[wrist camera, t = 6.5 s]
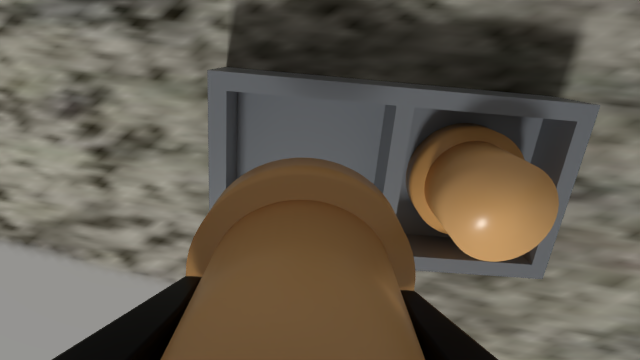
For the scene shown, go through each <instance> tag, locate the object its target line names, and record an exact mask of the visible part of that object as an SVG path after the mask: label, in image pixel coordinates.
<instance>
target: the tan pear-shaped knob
mask: <svg viewBox="0 0 640 360" xmlns="http://www.w3.org/2000/svg"><path fill="white" fill-rule="evenodd" d="M186 276H198V277H202V278H201V280H200V282H199V284H198V286H197V288H196V290H195V292H194V294H193V296H192V298H191V300H190V302H189V304H188V306H187V308H186V310H185V312H184V314H183V316H182V318H181V320H180V322H179V324H178V326H177V328H176V330H175V332H174V334H173V336H172V338H171V340H170V342H169V344H168V346H167V348H166V350H165V352H164V354H163V356H162V358H161V360H425V358H424V355H423V352H422V349H421V347H420V344H419V341H418V338H417V335H416V333H415V330H414V327H413V324H412V321H411V319H410V316H409V313H408V310H407V308H406V305H405V302H404V299H403V296H402V294H401V291H400V290H411V291H414V286H415V262H414V257H413V252H412V249H411V246H410V243H409V240H408V238H407V236H406V234H405V232H404V230H403V228H402V226H401V224H400V222H399V220H398V218H397V216H396V214H395V212H394V210H393V208H392V206H391V205H390V203H389V202H388V200H387V199H386V197H385V196H384V195H383V193H382V192H381V191H380V190H379V189H378V188H377V187H376V186H375V185H374V184H373V183H372V182H370V181H369V180H368V179H367V178H365V177H364V176H363V175H361V174H359V173H357V172H356V171H354V170H352V169H350V168H348V167H346V166H343V165H341V164H338V163H335V162H331V161H328V160H323V159H316V158H288V159H281V160H277V161H272V162H269V163H266V164H263V165H261V166H258V167H256V168H254V169H252V170H250V171H248V172H246V173H245V174H243V175H242V176H240V177H239V178H238V179H236V180H235V181H234V182H233V183H232V184H230V185H229V186H228V187H227V188H226V189H225V190H224V192H223V193H222V194H221V195H220V197H219V198H218V199H217V201H216V202H215V204H214V205H213V207H212V208H211V210H210V211H209V213H208V214H207V216H206V217H205V219H204V220H203V222H202V223H201V225H200V227H199V229H198V230H197V232H196V234H195V236H194V238H193V241H192V243H191V246H190V249H189V253H188V258H187V264H186Z"/></svg>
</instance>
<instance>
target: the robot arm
mask: <svg viewBox="0 0 640 360" xmlns="http://www.w3.org/2000/svg"><path fill="white" fill-rule="evenodd" d="M201 278H202V277H198V276H185V277H183V278H182V279H180V280H179V281H177V282H175V283H174V284H172V285H171V286H169V287H167V288H166V289H164V290H163V291H161V292H159V293H158V294H156V295H155V296H153V297H151V298H150V299H148V300H147V301H145V302H143V303H142V304H140V305H139V306H137V307H135V308H134V309H132V310H131V311H129V312H128V313H126V314H124V315H123V316H121V317H119V318H118V319H116V320H115V321H113V322H111V323H110V324H108V325H107V326H105V327H103V328H102V329H100V330H99V331H97V332H96V333H94V334H92V335H91V336H89V337H87V338H86V339H84V340H83V341H81V342H79V343H78V344H76V345H74V346H73V347H71V348H70V349H68V350H66V351H65V352H63V353H62V354H60V355H58V356H57V357H55V358H54V359H52V360H161V358H162V356H163V354H164V352H165V350H166V348H167V346H168V344H169V342H170V340H171V338H172V336H173V334H174V332H175V330H176V328H177V326H178V324H179V322H180V320H181V318H182V316H183V314H184V312H185V310H186V308H187V306H188V304H189V302H190V300H191V298H192V296H193V294H194V292H195V290H196V288H197V286H198V284H199V282H200V280H201ZM400 291H401V294H402V296H403V299H404V302H405V305H406V308H407V310H408V313H409V316H410V319H411V321H412V324H413V327H414V330H415V333H416V335H417V338H418V341H419V344H420V347H421V349H422V352H423V355H424V358H425V360H498V359H497V358H495V357H494V356H493V355H492V354H491V353H489V352H488V351H487V350H486V349H485V348H483V347H482V346H481V345H480V344H478V343H477V342H476V341H475V340H474V339H472V338H471V337H470V336H469V335H467V334H466V333H465V332H464V331H463V330H461V329H460V328H459V327H458V326H457V325H455V324H454V323H453V322H452V321H450V320H449V319H448V318H447V317H446V316H444V315H443V314H442V313H441V312H440V311H438V310H437V309H436V308H435V307H433V306H432V305H431V304H430V303H429V302H427V301H426V300H425V299H424V298H423V297H421V296H420V295H419V294H418V293H416V292H415V291H411V290H400Z"/></svg>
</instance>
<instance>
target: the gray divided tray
mask: <svg viewBox="0 0 640 360" xmlns="http://www.w3.org/2000/svg"><path fill="white" fill-rule="evenodd" d="M599 108H600V105H597V104H591V103H586V102H580V101H575V100H570V99H564V98H559V97H553V96H543V95H532V94H521V93H510V92H499V91H488V90H477V89H466V88H454V87H443V86H432V85H421V84H410V83H399V82H388V81H377V80H366V79H354V78H343V77H332V76H321V75H310V74H299V73H288V72H277V71H266V70H254V69H243V68H232V67H223V68H217V69H211V70H208V146H209V211H210V210H211V208H212V207H213V205H214V204H215V202H216V201H217V199H218V198H219V197H220V195H221V194H222V193H223V192H224V190H225V189H226V188H227V187H228V186H229V185H230V184H232V183H233V182H234V181H235V180H236V179H238V178H239V177H240V176H242V175H243V174H245V173H246V172H248V171H250V170H252V169H254V168H256V167H258V166H261V165H263V164H266V163H269V162H272V161H277V160H281V159H288V158H316V159H323V160H328V161H331V162H335V163H338V164H341V165H343V166H346V167H348V168H350V169H352V170H354V171H356V172H357V173H359V174H361V175H363V176H364V177H365V178H367V179H368V180H369V181H370V182H372V183H373V184H374V185H375V186H376V187H377V188H378V189H379V190H380V191H381V192H382V193H383V195H384V196H385V197H386V199H387V200H388V202H389V203H390V205H391V206H392V208H393V210H394V212H395V214H396V216H397V218H398V220H399V222H400V224H401V226H402V228H403V230H404V232H405V234H406V236H407V238H408V240H409V243H410V246H411V249H412V252H413V257H414V262H415V270H417V271H432V272H447V273H462V274H476V275H491V276H506V277H521V278H535V279H543V276H544V273H545V270H546V267H547V264H548V261H549V258H550V255H551V252H552V249H553V246H554V243H555V240H556V237H557V234H558V231H559V228H560V225H561V222H562V219H563V216H564V213H565V210H566V207H567V204H568V201H569V198H570V195H571V192H572V189H573V186H574V183H575V180H576V177H577V174H578V171H579V168H580V165H581V162H582V159H583V156H584V153H585V150H586V147H587V144H588V141H589V138H590V135H591V132H592V129H593V126H594V123H595V120H596V117H597V114H598V111H599Z"/></svg>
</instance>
